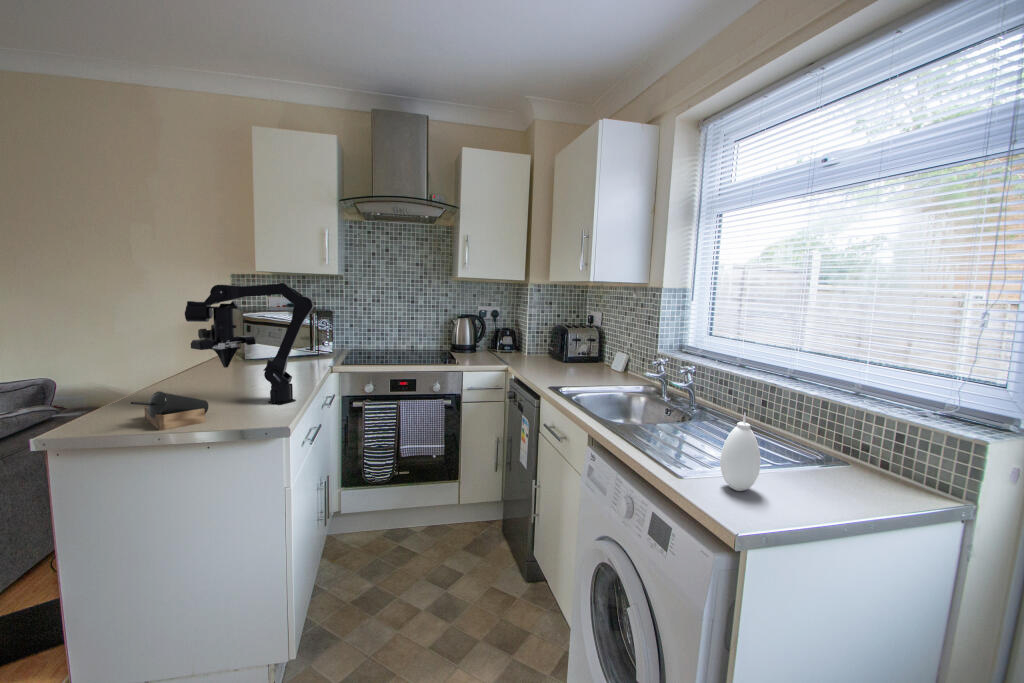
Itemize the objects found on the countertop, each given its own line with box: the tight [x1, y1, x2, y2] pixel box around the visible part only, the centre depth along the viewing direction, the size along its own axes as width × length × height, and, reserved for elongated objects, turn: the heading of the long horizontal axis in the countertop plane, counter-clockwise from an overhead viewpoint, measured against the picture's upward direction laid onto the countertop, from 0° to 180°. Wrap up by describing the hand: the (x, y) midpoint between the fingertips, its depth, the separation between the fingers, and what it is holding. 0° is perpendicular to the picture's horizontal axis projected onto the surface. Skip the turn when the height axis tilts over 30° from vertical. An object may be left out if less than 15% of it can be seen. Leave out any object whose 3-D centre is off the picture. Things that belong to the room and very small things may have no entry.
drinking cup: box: [130, 390, 209, 418], centre depth 133 cm, size 8×8×20 cm
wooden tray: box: [143, 405, 206, 431], centre depth 135 cm, size 11×15×4 cm
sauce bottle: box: [719, 411, 762, 492], centre depth 100 cm, size 8×8×18 cm
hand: (225, 367), depth 153 cm, fingers closed
